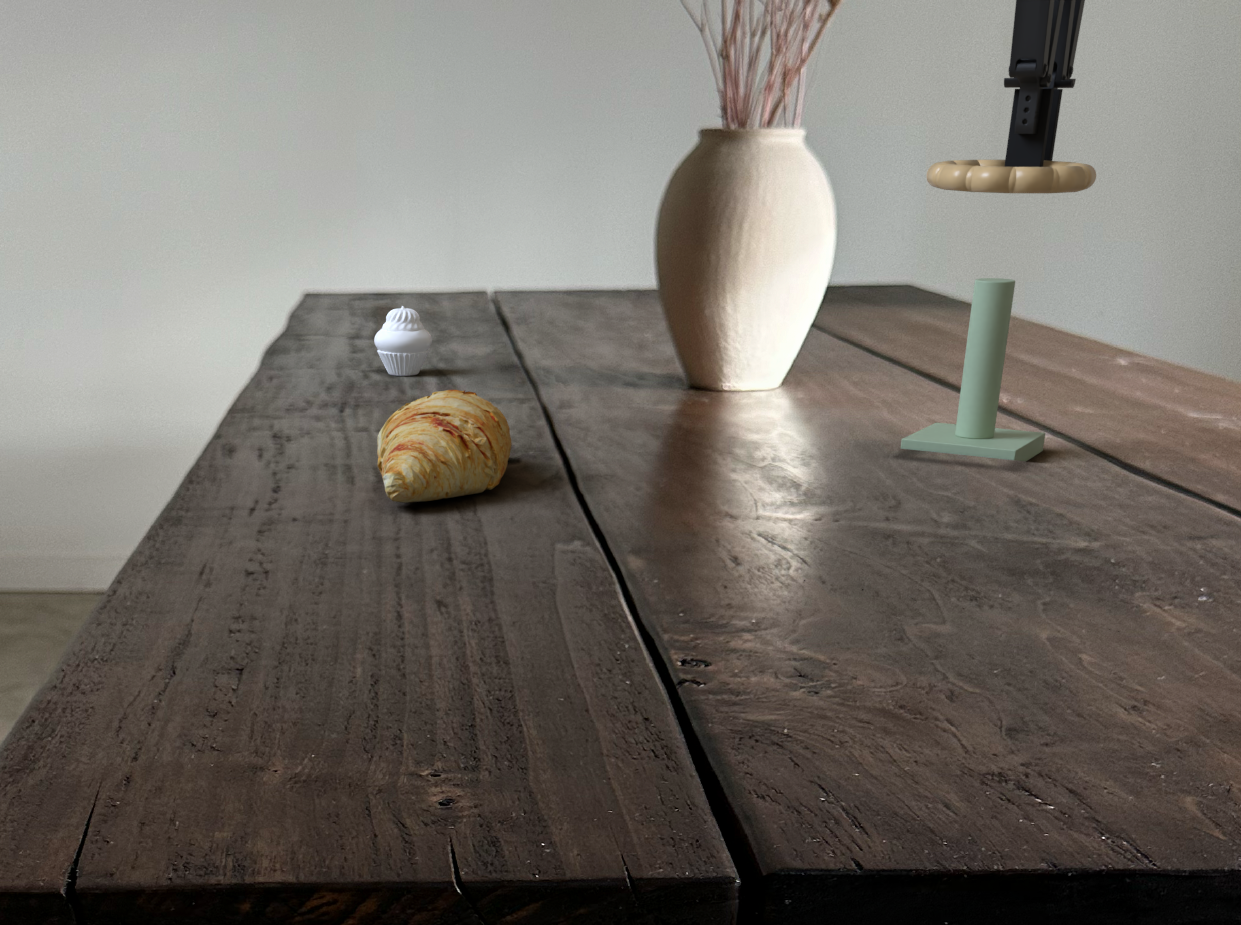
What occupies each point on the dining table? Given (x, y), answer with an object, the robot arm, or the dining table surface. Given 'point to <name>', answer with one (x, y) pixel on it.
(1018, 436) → the post
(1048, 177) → the ring
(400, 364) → the muffin
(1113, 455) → the dining table surface
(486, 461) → the croissant
